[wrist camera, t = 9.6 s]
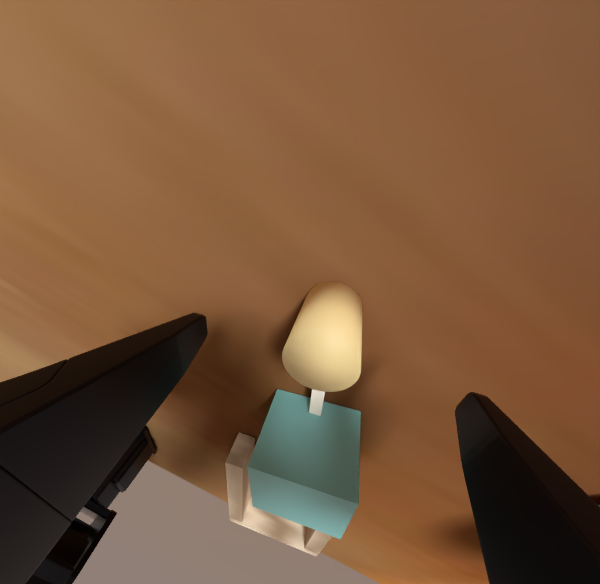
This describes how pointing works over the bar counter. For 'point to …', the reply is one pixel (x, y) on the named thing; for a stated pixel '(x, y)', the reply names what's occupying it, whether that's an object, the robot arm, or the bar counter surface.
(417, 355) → the bar counter surface
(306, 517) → the teal knobbed plunger
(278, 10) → the bar counter surface
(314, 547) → the u-shaped wooden stand
